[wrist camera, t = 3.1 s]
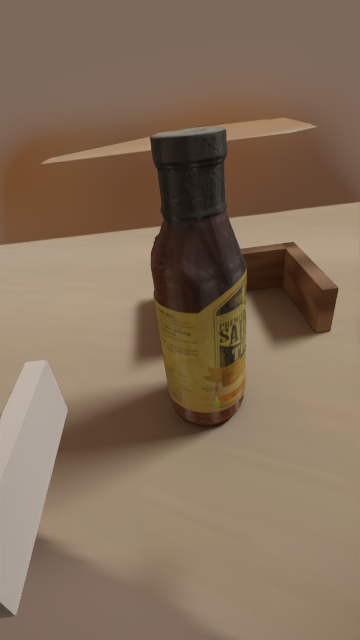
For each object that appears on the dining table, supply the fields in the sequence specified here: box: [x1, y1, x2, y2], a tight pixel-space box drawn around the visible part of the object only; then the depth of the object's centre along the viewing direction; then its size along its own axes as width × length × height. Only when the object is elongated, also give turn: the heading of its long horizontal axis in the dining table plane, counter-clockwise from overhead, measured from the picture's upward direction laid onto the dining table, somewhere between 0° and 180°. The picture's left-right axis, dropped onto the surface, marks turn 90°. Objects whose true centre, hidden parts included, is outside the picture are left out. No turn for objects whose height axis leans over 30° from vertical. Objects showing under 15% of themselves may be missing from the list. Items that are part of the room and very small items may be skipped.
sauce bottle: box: [150, 127, 247, 425], centre depth 23 cm, size 6×6×20 cm
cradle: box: [240, 242, 338, 333], centre depth 37 cm, size 12×15×5 cm
